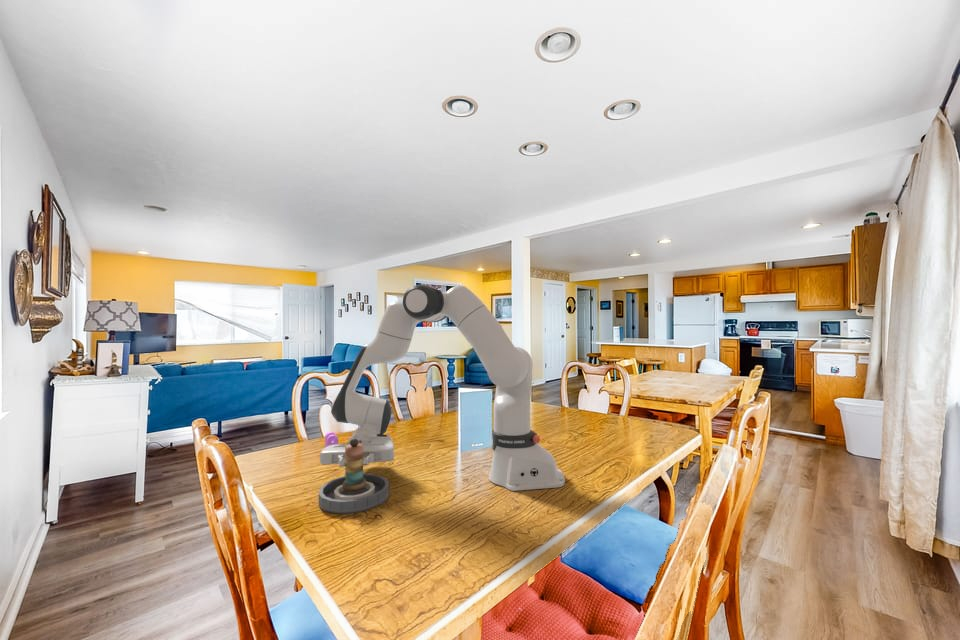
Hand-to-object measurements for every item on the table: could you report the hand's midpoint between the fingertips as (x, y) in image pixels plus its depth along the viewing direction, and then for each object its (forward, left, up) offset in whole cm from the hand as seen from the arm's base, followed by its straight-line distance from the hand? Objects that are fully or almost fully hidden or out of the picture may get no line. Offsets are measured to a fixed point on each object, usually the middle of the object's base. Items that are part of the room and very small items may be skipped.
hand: (353, 463), depth 105 cm
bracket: (+18, -40, -10) cm, 44 cm away
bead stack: (0, -1, -6) cm, 7 cm away
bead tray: (0, -1, -10) cm, 10 cm away
